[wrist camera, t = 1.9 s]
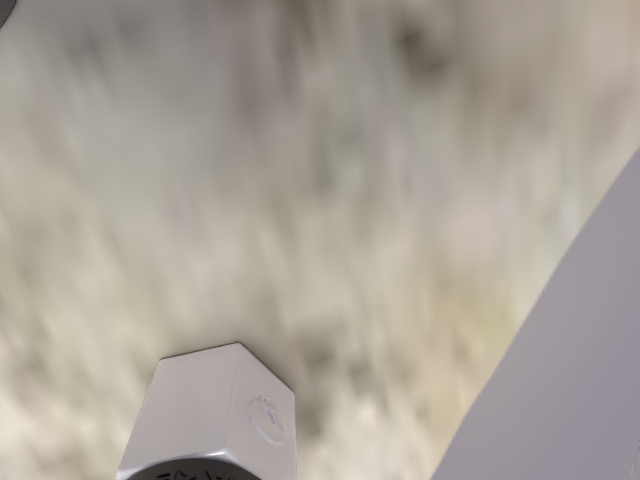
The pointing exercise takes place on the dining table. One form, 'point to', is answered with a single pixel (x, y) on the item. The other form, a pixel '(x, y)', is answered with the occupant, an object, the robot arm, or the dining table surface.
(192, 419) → the jar
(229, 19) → the dining table surface
